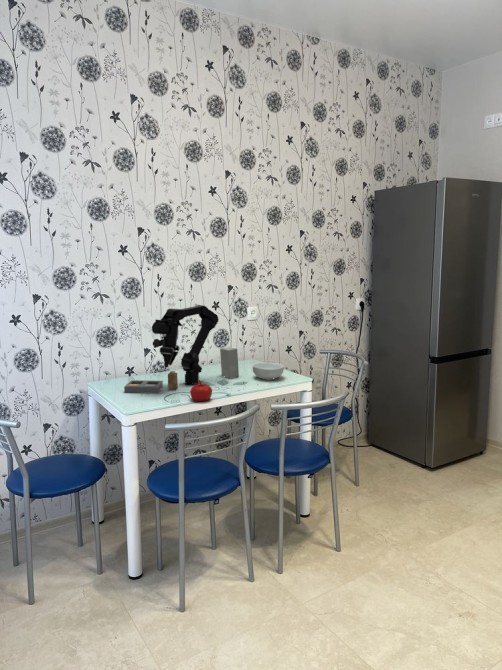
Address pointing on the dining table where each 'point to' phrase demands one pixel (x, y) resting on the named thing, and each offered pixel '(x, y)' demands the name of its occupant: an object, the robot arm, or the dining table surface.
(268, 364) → the cereal bowl
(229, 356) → the skincare box
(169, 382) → the walnut plug
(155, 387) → the socket block
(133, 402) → the dining table surface
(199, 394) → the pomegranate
